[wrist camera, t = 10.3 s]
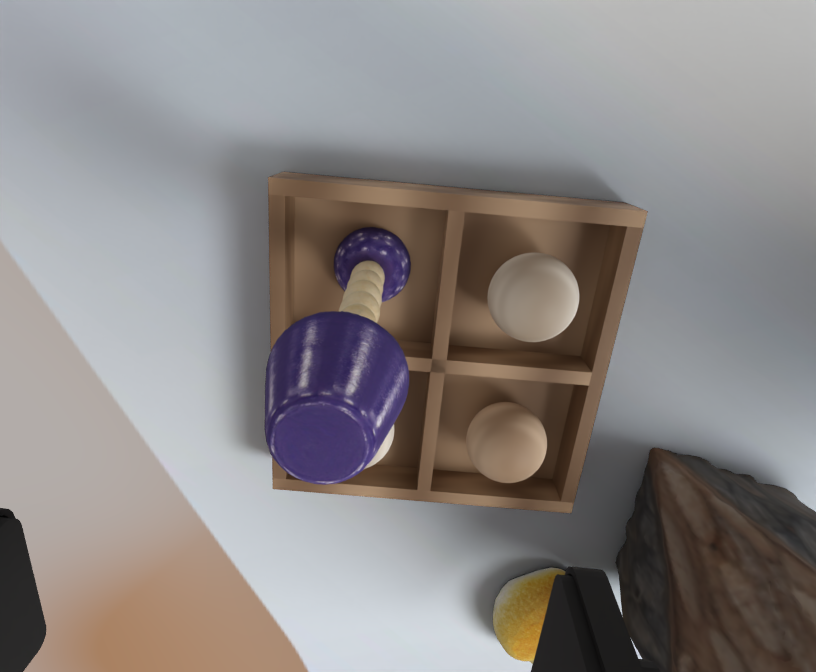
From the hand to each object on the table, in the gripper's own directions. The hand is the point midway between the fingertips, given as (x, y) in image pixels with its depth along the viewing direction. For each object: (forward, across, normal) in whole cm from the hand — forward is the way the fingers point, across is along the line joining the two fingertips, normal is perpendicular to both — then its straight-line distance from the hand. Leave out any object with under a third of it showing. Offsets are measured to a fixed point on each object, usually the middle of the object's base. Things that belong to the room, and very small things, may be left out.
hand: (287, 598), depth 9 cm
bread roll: (+23, -14, +25) cm, 37 cm away
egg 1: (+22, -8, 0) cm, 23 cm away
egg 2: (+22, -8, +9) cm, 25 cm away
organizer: (+22, -3, +4) cm, 23 cm away
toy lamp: (+22, +1, 0) cm, 22 cm away
